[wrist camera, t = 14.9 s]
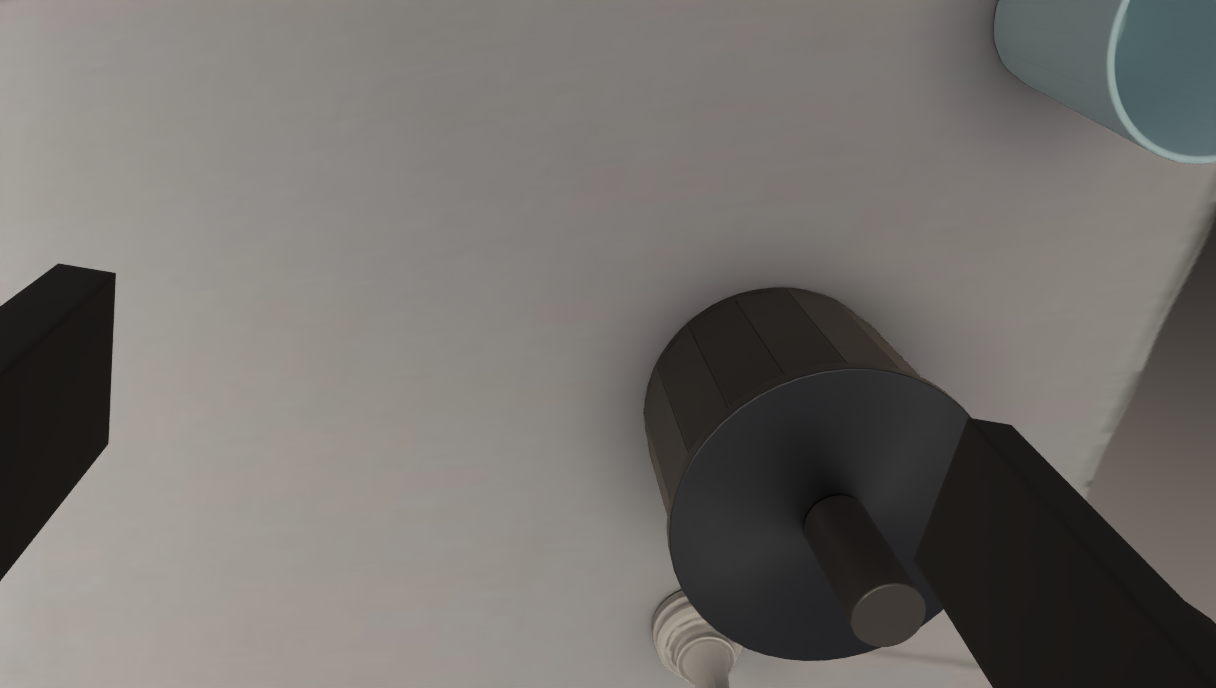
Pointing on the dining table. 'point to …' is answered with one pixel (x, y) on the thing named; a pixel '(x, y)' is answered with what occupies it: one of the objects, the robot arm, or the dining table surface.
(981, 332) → the dining table surface
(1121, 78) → the cup
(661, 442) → the pot
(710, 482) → the pot lid
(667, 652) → the chess piece
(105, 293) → the robot arm
